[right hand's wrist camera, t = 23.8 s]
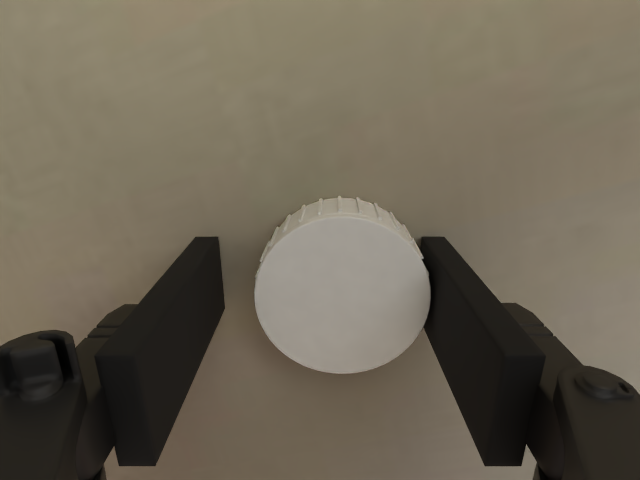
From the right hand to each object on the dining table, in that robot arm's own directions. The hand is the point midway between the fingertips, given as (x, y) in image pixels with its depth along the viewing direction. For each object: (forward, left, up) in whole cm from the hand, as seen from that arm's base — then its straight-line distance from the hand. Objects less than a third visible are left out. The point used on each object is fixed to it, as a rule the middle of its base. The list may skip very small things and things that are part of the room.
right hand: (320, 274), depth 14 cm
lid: (0, +1, +2) cm, 2 cm away
